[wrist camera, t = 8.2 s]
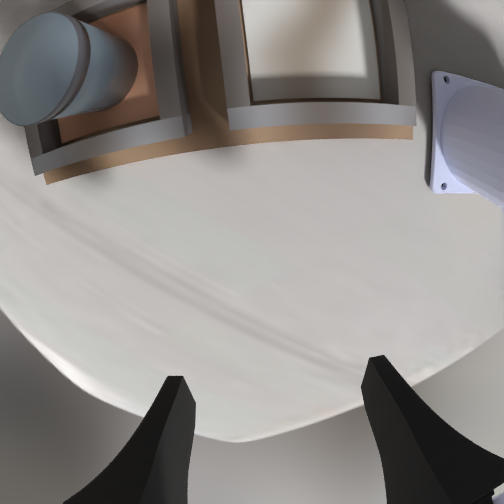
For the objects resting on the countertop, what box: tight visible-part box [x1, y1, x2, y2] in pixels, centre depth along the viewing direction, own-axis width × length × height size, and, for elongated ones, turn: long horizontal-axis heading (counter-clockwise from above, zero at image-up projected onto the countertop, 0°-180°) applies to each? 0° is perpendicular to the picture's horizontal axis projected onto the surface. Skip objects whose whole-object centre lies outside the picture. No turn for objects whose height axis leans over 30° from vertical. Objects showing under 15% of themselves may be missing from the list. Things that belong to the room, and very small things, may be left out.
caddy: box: [24, 0, 416, 185], centre depth 11 cm, size 22×11×3 cm, turn 96°
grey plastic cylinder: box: [0, 12, 138, 126], centre depth 9 cm, size 4×4×6 cm
